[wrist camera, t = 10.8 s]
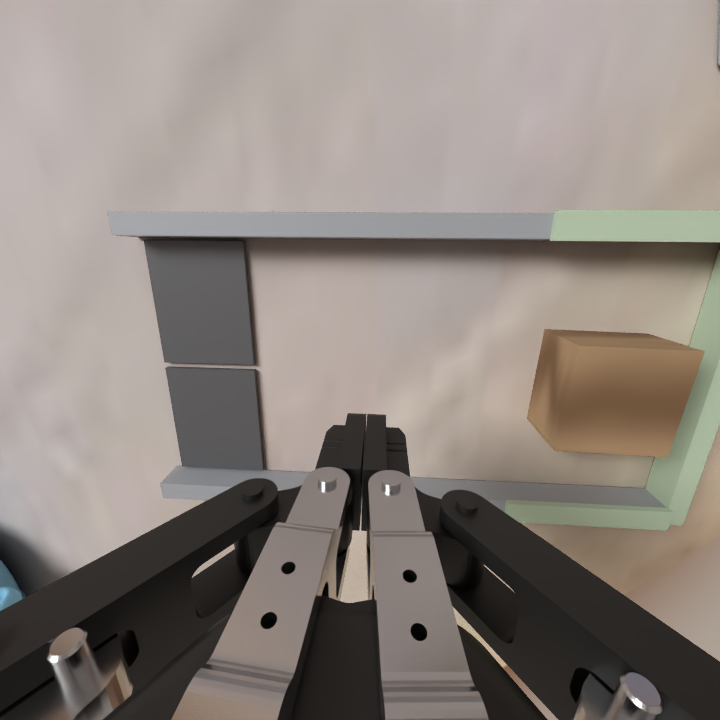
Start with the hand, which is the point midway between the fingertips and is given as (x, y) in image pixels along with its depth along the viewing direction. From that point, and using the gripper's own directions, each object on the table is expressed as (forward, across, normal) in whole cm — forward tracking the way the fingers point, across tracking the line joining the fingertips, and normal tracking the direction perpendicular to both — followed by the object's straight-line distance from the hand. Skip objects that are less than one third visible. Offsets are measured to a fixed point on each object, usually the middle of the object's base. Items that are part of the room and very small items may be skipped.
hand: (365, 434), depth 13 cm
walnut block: (+9, -13, +1) cm, 16 cm away
